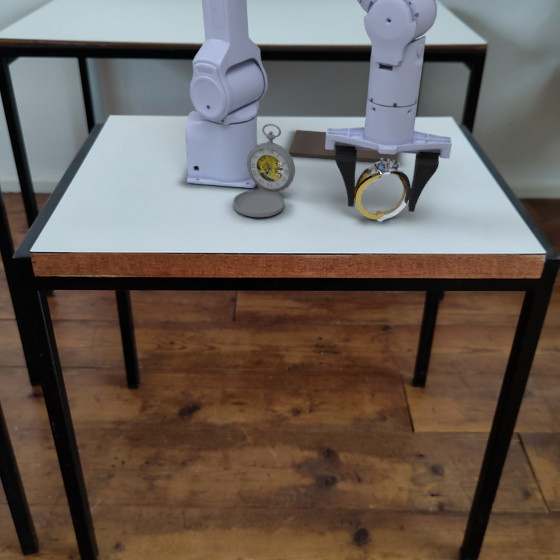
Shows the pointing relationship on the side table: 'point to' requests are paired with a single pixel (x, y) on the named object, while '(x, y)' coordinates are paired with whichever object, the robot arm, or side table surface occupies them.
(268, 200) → the pocket watch
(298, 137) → the mat
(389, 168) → the ring
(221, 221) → the side table surface
